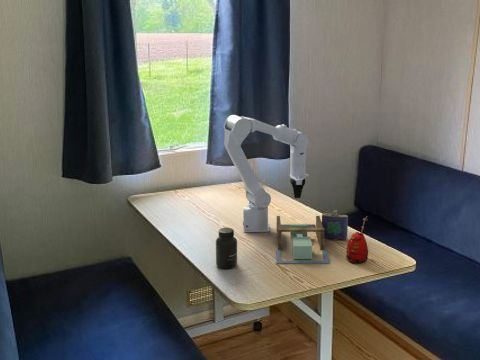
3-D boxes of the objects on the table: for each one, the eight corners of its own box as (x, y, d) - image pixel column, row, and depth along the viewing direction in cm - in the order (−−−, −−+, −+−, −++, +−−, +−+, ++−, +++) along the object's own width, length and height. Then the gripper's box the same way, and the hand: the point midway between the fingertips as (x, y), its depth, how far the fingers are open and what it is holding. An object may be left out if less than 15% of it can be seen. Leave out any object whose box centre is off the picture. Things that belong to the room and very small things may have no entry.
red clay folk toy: (344, 255, 177) (345, 212, 173) (365, 255, 177) (367, 212, 173) (347, 264, 170) (349, 220, 166) (370, 264, 169) (372, 220, 165)
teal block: (293, 258, 174) (293, 245, 173) (290, 235, 193) (290, 223, 192) (311, 258, 174) (312, 245, 172) (306, 235, 193) (307, 223, 191)
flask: (347, 238, 191) (348, 210, 188) (346, 241, 188) (347, 212, 185) (321, 236, 193) (322, 208, 190) (320, 239, 191) (321, 210, 188)
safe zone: (276, 263, 171) (276, 262, 171) (275, 250, 181) (275, 249, 181) (330, 263, 171) (330, 262, 171) (326, 250, 181) (326, 249, 181)
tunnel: (277, 249, 182) (278, 229, 180) (276, 232, 197) (276, 213, 195) (324, 249, 181) (324, 229, 179) (319, 232, 197) (319, 213, 195)
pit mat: (278, 230, 199) (278, 230, 199) (278, 225, 204) (278, 224, 204) (316, 230, 198) (316, 230, 198) (314, 225, 204) (314, 224, 204)
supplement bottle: (235, 270, 167) (234, 234, 164) (213, 269, 168) (212, 233, 165) (239, 261, 174) (238, 226, 170) (219, 260, 175) (218, 225, 172)
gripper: (310, 168, 194) (309, 203, 198) (307, 158, 208) (306, 191, 212) (290, 168, 194) (290, 203, 198) (288, 158, 208) (288, 192, 212)
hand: (297, 197), depth 205 cm, fingers closed
